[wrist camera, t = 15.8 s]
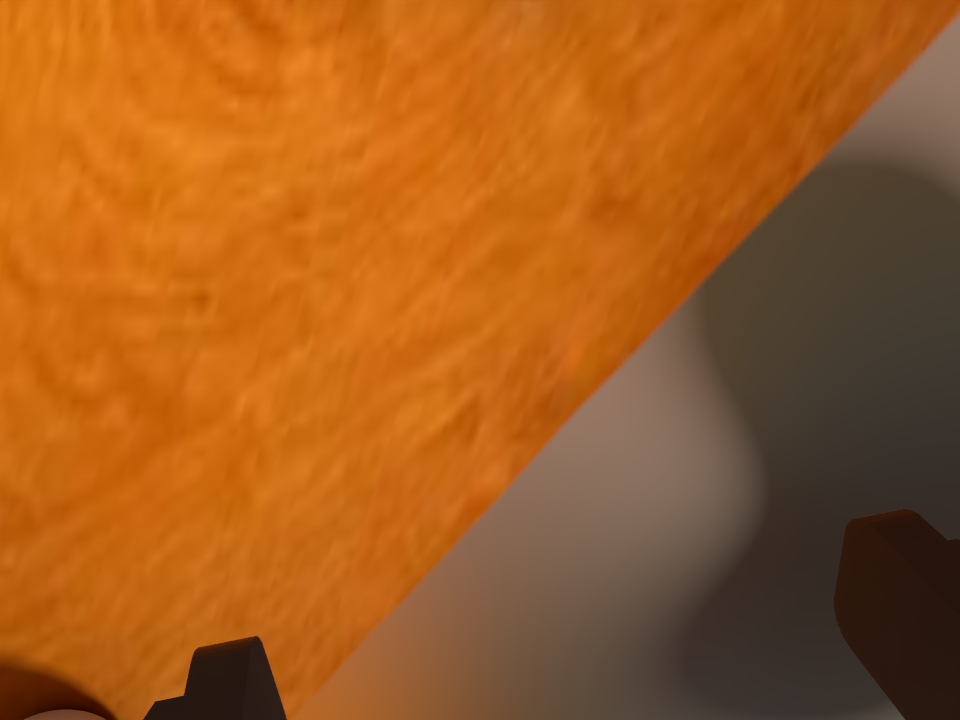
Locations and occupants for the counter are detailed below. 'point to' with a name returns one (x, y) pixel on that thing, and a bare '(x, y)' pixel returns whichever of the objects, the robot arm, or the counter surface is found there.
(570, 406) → the counter surface
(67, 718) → the black egg-shaped device
